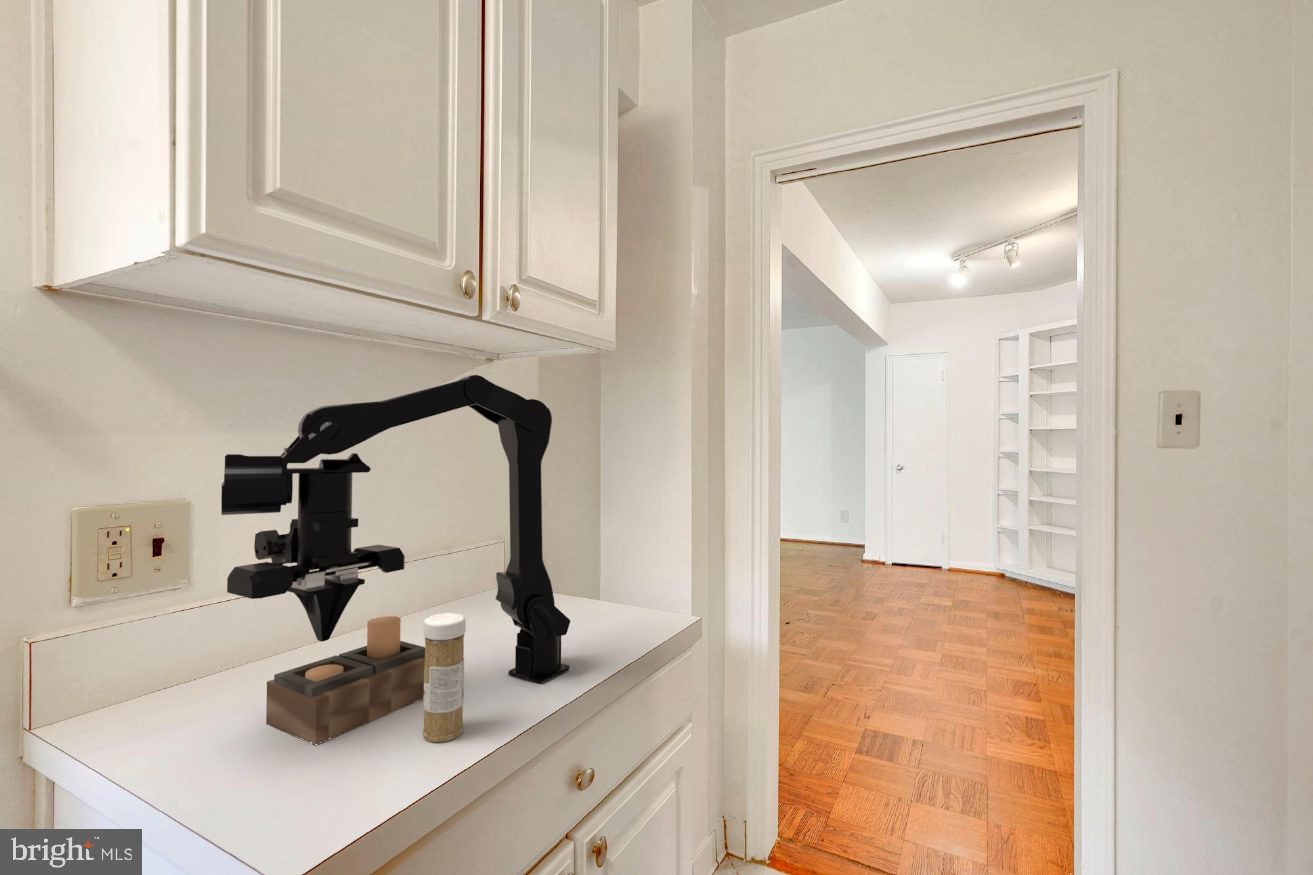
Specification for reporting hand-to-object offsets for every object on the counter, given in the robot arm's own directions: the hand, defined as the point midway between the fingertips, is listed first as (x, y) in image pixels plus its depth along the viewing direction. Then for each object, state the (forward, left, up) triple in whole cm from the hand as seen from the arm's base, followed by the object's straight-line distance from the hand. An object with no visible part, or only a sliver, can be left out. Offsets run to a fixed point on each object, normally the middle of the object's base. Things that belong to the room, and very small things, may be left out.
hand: (323, 640), depth 73 cm
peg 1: (0, 0, -10) cm, 10 cm away
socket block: (-4, 0, -10) cm, 10 cm away
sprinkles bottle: (-5, +15, -10) cm, 19 cm away
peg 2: (-8, 0, -6) cm, 10 cm away
